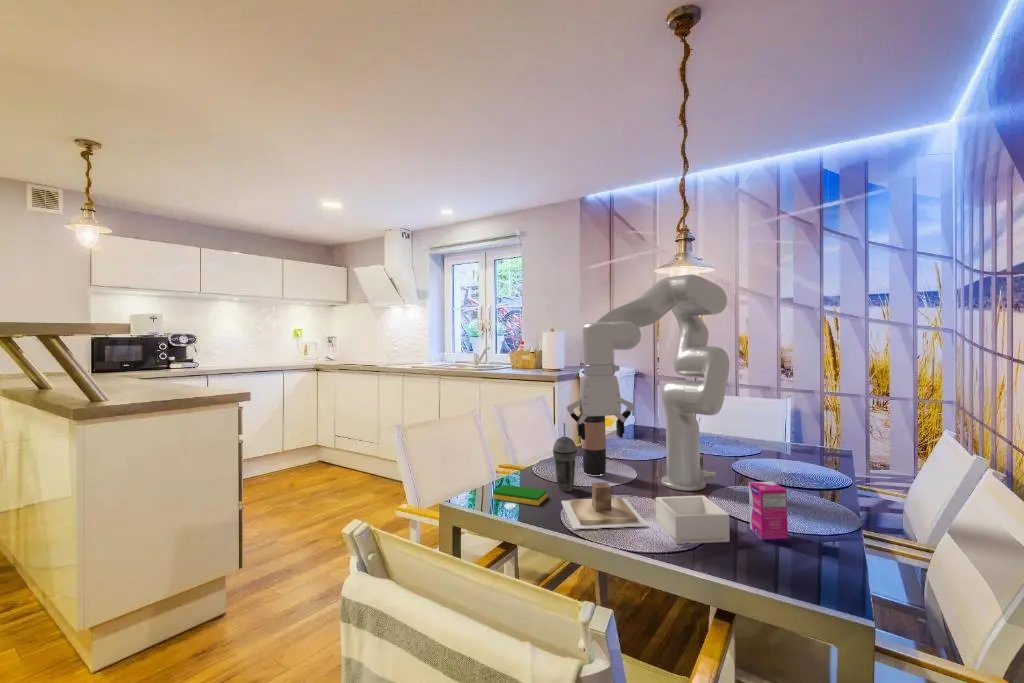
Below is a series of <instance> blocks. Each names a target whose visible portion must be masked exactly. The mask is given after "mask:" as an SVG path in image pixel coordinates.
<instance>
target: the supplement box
mask: <svg viewBox="0 0 1024 683" xmlns="http://www.w3.org/2000/svg"><path fill="white" fill-rule="evenodd" d="M787 492H788V491H787V489H785V488H784V487H782V486H781V485H779V484H778V483H776V482H774V481H771V480H770V481H749V482H748V497H749V498H748V502H749V503H748V504H749V506H748V508H749V531H750V532H752V533H753V534H754V535H755V536H757V537H758V538H759V540H761V541H762V542H788V541H789V531H788V530H789V529H788V504H787V503H788V502H787V501H788V500H787V494H788V493H787Z"/></svg>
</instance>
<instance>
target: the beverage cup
mask: <svg viewBox="0 0 1024 683" xmlns="http://www.w3.org/2000/svg"><path fill="white" fill-rule="evenodd" d="M552 452H553V453H552V454H553V458H554V465H555V466H554V467H555V473H556V484H557V489H558V491H560V492H572V491H573V490H574V483H575V471H576V470H575V469H576V458H577V452H578V449H577V445H576V443H575V441H574V440H573V439H572V438H570V437H567V436H566V422H563V436H561V437H559V438H557V439H556V441H555V442H554V444H553V447H552Z"/></svg>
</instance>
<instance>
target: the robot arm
mask: <svg viewBox="0 0 1024 683" xmlns="http://www.w3.org/2000/svg"><path fill="white" fill-rule="evenodd" d="M727 304H728V297H727V294H726V291H725V290H724V289H723V288H722V287H721V286H720V285H718V284H716V283H714V282H712V281H711V280H708V279H706V278H704V277H703V276H700V275H697V274H692V273H691V274H689V273H688V274H683V275H676V276H675V275H674V276H669V277H665V278H662V279H660V280H658V281H657V282H656V283H655V284H653V285H652V286H651V287H650V288H648V290H646V291H645V292H644V293H643V294H641V295H639V297H637V298H635V299H633V300H630V301H629V302H626V303H624V304H623V305H620V306H618V307H616V308H614V309H612V310H610V311H608V312H607V313H605V314H604V315H602V316H601V317H600V318H598V320H596V321H595V322H593V323H591V322H590V323H586V324H584V325H583V328H582V344H583V345H582V347H583V373H584V374H583V375H582V376H580V383H579V392H578V395H579V396H578V398H579V399H577V400H575V401H574V402H571V403H570V404H568V405H567V406H566V411H567V412H568V414H569V416H570V417H571V418H572V419H573V420H574V421H575V422H576V423H577V436H579V437H580V439H581V441H582V440H584V439H585V424H584V423H583V422H584V420H585V419H586V418H587V416H605V417H606V416H607V417H608V416H609V417H610V416H615V417H616V418H617V419H616V422H615V424H616V436H617V437H618V438H620V439H623V438H624V434H625V423H626V421H627V419H628V418H629V417H630V416H631V414H632V411H633V409H634V408H635V404H634V403H633V402H630V401H628V400H626V399H625V398H622V397H621V391H620V386H619V385H620V384H619V380H618V376H617V375H616V372H620V365H615V362H614V359H615V358H614V351H627V350H632V349H635V347H636V346H638V344H639V343H640V342H641V338H642V332H641V329H640V328H645V327H647V326H650V325H653V324H655V323H657V322H659V321H660V320H661V319H662V318H663V317H664V316H665V315H666V314H667V313H668V312H670V311H671V312H672V314H673V316H674V318H675V321H676V322H677V325H678V328H679V333H678V338H677V339H678V340H677V344H676V349H675V354H674V360H673V370H674V372H675V374H677V375H678V376H680V377H684V378H685V377H686V378H696V379H697V378H698V379H703V381H697V380H685V379H673V380H670V381H668V382H667V383H665V384H664V385H663V387H662V390H661V399H662V405H663V409H664V416H665V417H664V418H665V441H666V442H665V450H666V451H665V452H666V454H665V455H666V456H665V457H666V475H664V476H662V477H661V484H662V486H665V487H667V488H670V489H673V490H677V491H685V492H686V491H687V492H689V491H690V492H691V491H692V492H693V491H700V490H703V489H705V488H706V487H707V485H706V484H707V482H706V481H705V480H707V479H709V480H710V479H717V473H716V471H708V470H706V469H705V470H702V469H701V460H700V459H701V455H700V454H701V450H700V449H701V448H700V445H701V444H700V443H701V442H700V425H699V421H698V420H697V418H696V416H695V415H701V416H702V415H703V416H715V415H718V414H719V413H720V411H721V409H722V408H723V405H724V400H725V396H726V395H725V394H726V389H727V385H728V384H727V383H728V379H729V372H730V364H731V363H730V358H729V357H730V356H729V355H728V353H727V351H726V350H725V349H723V348H721V347H718V346H712V345H711V346H709V345H708V341H709V335H710V334H709V333H710V332H709V329H708V327H707V326H706V325H707V324H705V323H704V321H703V320H702V318H701V317H700V316H712V315H713V316H715V315H719V314H721V313H722V312H724V310H725V309H726V308H727ZM622 405H623V406H626V408H625V410H624V411H623V412H622ZM575 408H579V410H578V411H579V412H580V413H579V414H578V415H577V414H576V413H575V411H574V410H575Z"/></svg>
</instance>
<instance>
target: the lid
mask: <svg viewBox="0 0 1024 683" xmlns="http://www.w3.org/2000/svg"><path fill="white" fill-rule="evenodd" d="M569 501H570V505H571V507H572V509H573V511H574V513H575V515H576V517H577V519H578V521H579V523H580V525H585V524H607V523H629V522H638V518H637V517H636V516H635V514H634V513H633V512H632V511H631V510H630V508H629V507H628V506H627V505H626V503H625V502H624V501H623V500H622V497H612V487H611V485H610V484H609V483H608V482H607V481H606V482H605V481H604V482H603V481H602V482H601V481H600V482H591V498H578V499H576V498H575V499H569Z"/></svg>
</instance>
